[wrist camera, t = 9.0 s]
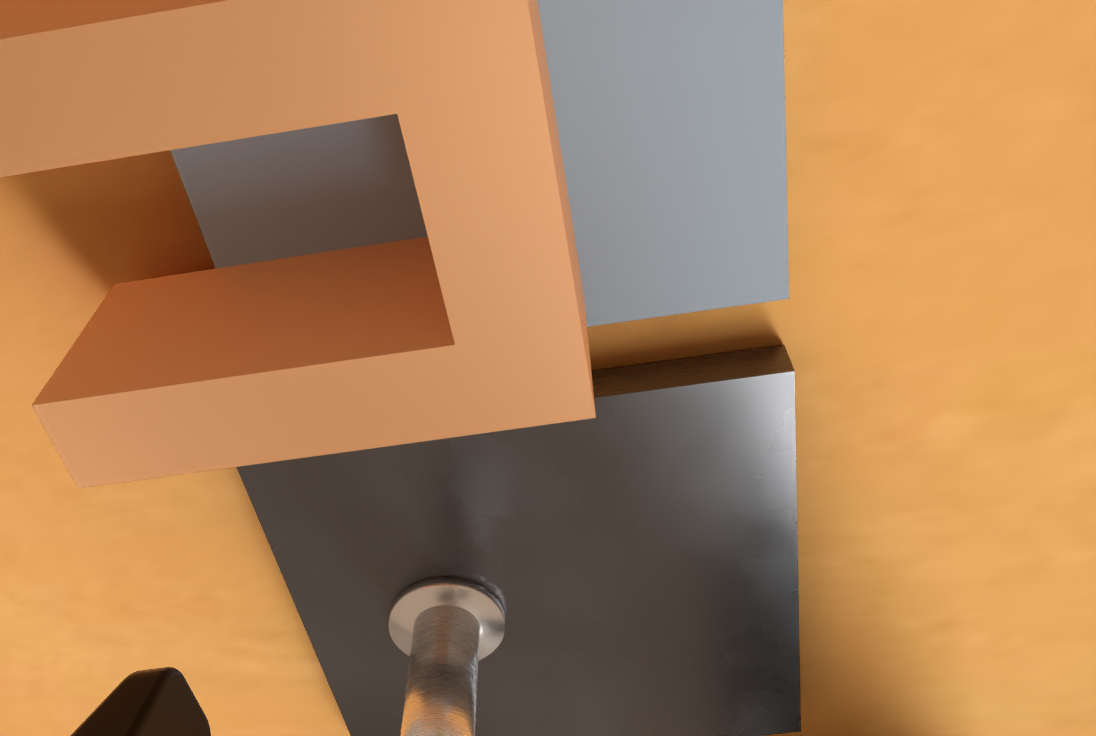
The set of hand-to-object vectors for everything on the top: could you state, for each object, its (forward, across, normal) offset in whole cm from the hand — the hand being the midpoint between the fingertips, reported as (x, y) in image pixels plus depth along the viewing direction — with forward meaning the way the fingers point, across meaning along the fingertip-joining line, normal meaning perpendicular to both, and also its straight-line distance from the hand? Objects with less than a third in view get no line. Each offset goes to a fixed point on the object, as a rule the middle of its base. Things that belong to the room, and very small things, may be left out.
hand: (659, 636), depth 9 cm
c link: (+11, +5, -1) cm, 12 cm away
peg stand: (+12, +3, +11) cm, 16 cm away
